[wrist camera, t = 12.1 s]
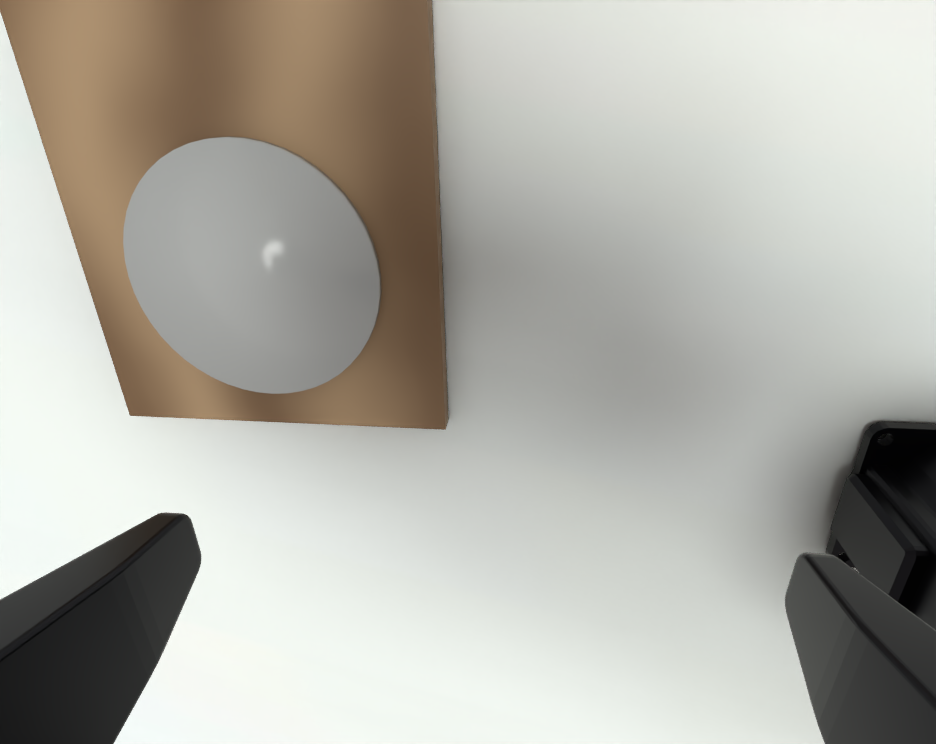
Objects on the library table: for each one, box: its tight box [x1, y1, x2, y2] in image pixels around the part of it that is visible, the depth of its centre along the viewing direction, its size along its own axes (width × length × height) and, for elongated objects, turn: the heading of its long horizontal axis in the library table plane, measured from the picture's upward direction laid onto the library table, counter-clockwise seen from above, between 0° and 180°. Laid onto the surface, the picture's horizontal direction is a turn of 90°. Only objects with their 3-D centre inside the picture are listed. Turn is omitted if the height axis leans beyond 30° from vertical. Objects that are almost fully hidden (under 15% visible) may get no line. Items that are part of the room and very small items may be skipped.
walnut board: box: [0, 0, 448, 429], centre depth 18 cm, size 13×25×1 cm, turn 1°
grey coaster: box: [123, 136, 381, 394], centre depth 20 cm, size 9×9×1 cm
